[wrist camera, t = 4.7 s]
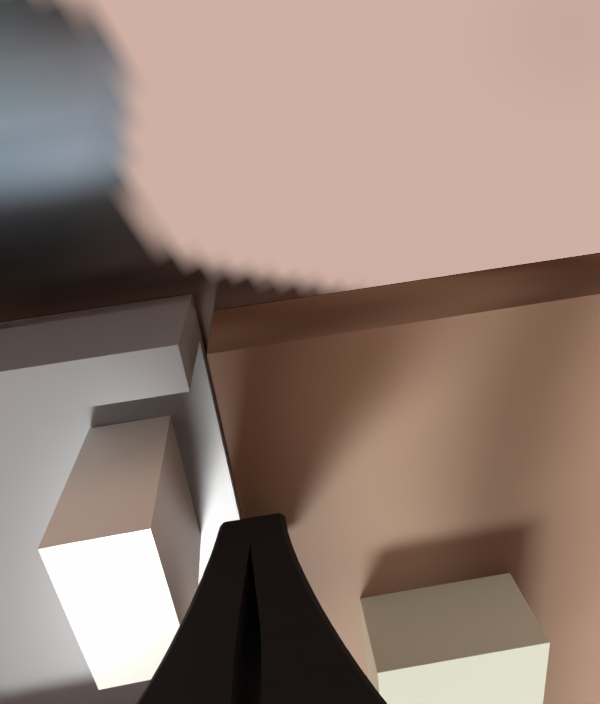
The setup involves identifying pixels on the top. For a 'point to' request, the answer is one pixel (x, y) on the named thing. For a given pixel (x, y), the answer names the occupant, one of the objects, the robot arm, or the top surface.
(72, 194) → the top surface
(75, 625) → the cream tile
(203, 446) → the tray
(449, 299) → the plate
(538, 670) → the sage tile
